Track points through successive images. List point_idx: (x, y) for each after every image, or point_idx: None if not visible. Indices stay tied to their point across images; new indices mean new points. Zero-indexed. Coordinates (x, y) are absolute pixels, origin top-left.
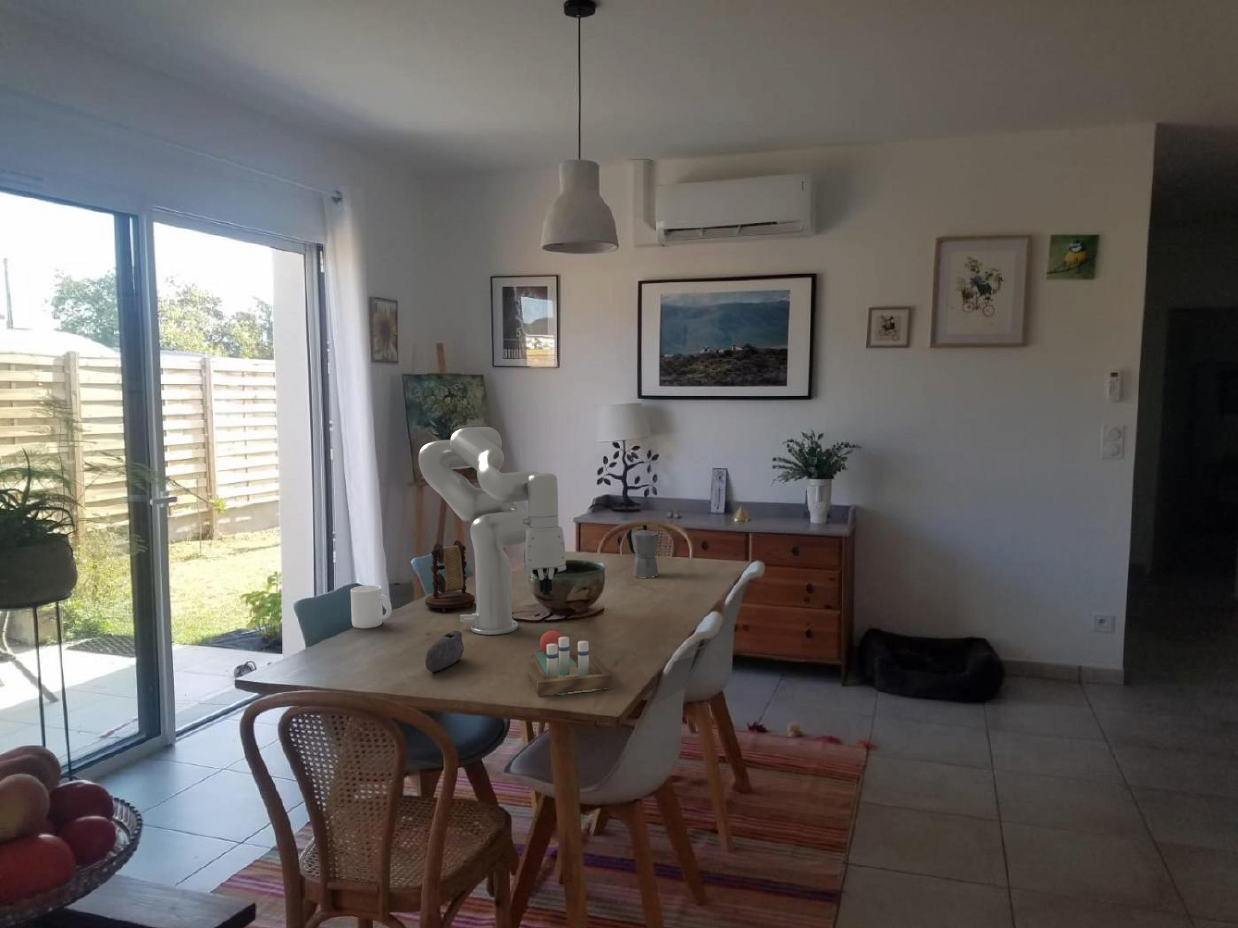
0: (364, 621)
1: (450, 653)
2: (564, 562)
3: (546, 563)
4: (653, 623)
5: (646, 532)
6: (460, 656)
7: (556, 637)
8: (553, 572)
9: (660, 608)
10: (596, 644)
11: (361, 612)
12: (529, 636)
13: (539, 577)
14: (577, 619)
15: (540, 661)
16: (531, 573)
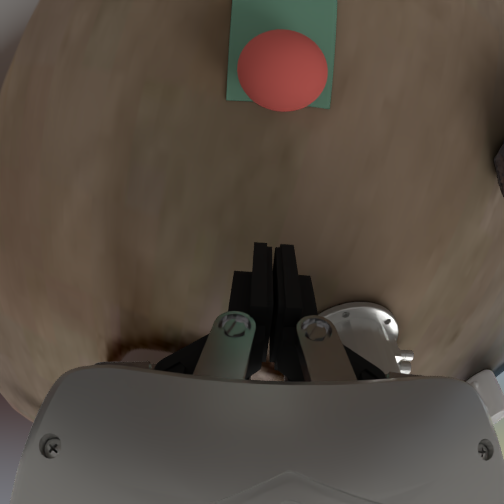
0: (491, 375)
1: None
2: (57, 387)
3: (294, 428)
4: (19, 257)
5: None
6: (501, 147)
7: (274, 35)
8: (204, 352)
9: (26, 327)
10: (129, 135)
11: (498, 385)
12: None
13: (334, 332)
14: (155, 338)
15: (332, 26)
16: (389, 372)
